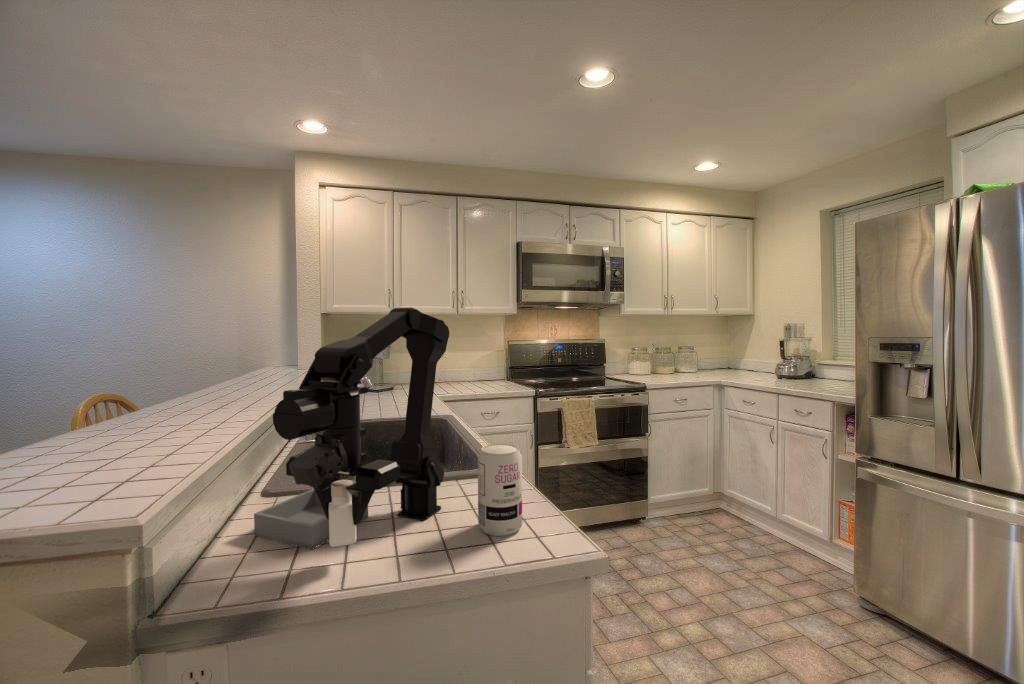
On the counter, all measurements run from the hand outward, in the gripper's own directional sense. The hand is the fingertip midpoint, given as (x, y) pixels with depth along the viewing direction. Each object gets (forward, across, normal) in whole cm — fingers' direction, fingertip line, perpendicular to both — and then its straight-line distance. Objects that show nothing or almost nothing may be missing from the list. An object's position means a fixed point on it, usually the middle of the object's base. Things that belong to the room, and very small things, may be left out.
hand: (343, 521), depth 74 cm
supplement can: (+7, +18, +21) cm, 29 cm away
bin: (+7, -15, +8) cm, 18 cm away
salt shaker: (+3, 0, 0) cm, 3 cm away
